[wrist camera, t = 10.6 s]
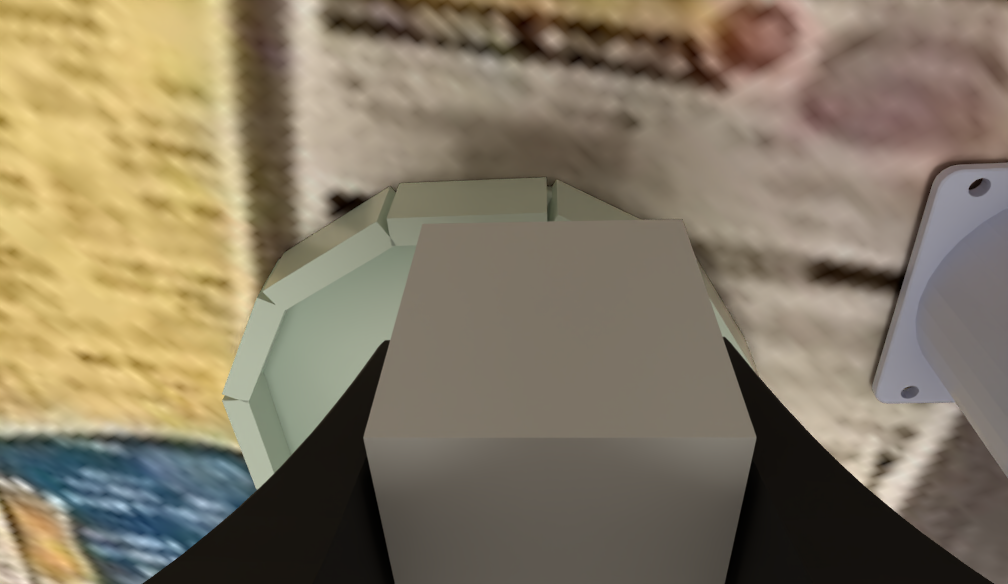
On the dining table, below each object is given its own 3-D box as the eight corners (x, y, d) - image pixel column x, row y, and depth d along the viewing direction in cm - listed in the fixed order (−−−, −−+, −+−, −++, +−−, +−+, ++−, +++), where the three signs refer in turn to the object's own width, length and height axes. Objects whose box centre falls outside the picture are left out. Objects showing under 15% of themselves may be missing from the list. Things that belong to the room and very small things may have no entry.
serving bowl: (775, 167, 19) (797, 203, 17) (713, 547, 28) (724, 594, 26) (186, 192, 20) (154, 226, 18) (310, 549, 29) (297, 594, 27)
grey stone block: (682, 219, 12) (756, 436, 8) (661, 410, 15) (709, 652, 10) (422, 223, 12) (363, 438, 8) (445, 411, 15) (409, 648, 11)
